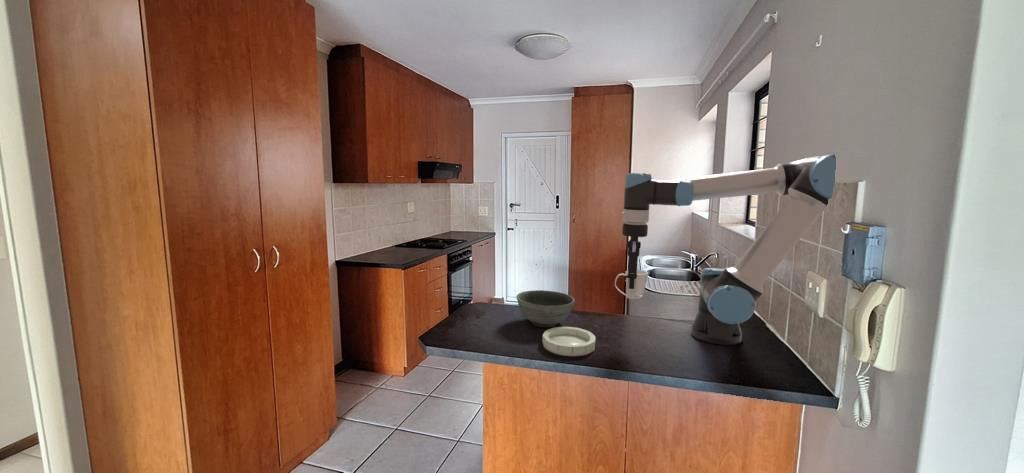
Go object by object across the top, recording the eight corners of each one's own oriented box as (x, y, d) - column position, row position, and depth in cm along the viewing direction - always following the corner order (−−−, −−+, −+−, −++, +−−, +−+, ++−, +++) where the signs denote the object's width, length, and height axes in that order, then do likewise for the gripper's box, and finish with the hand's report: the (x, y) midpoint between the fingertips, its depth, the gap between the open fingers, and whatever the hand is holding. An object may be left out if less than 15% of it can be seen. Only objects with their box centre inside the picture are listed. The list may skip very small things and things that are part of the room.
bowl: (504, 326, 143) (505, 298, 142) (533, 310, 161) (533, 285, 160) (558, 339, 133) (559, 309, 131) (582, 320, 150) (583, 294, 149)
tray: (596, 338, 133) (597, 329, 133) (592, 359, 118) (592, 349, 117) (548, 333, 137) (548, 324, 137) (538, 352, 122) (538, 342, 122)
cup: (647, 300, 125) (649, 275, 124) (614, 297, 128) (615, 272, 126) (645, 294, 132) (647, 270, 131) (613, 291, 134) (615, 267, 133)
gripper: (623, 219, 137) (619, 286, 140) (622, 226, 118) (617, 302, 122) (647, 220, 135) (642, 288, 138) (649, 227, 116) (643, 305, 119)
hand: (630, 295), depth 130 cm, fingers closed on cup, 7 cm apart
